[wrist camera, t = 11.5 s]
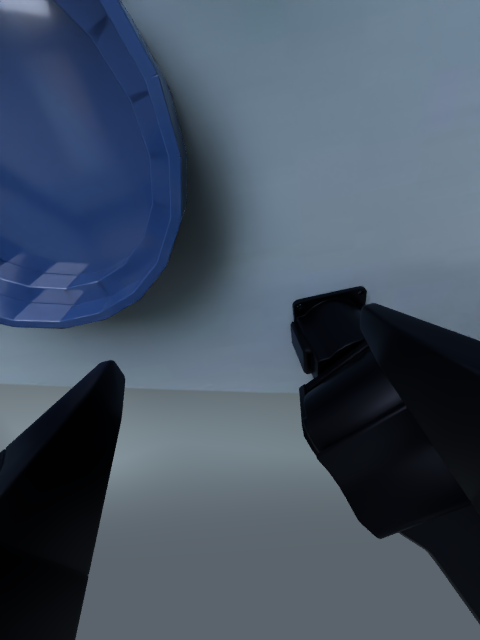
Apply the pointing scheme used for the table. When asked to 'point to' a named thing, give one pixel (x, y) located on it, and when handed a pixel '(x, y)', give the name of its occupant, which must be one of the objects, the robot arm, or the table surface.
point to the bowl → (83, 163)
